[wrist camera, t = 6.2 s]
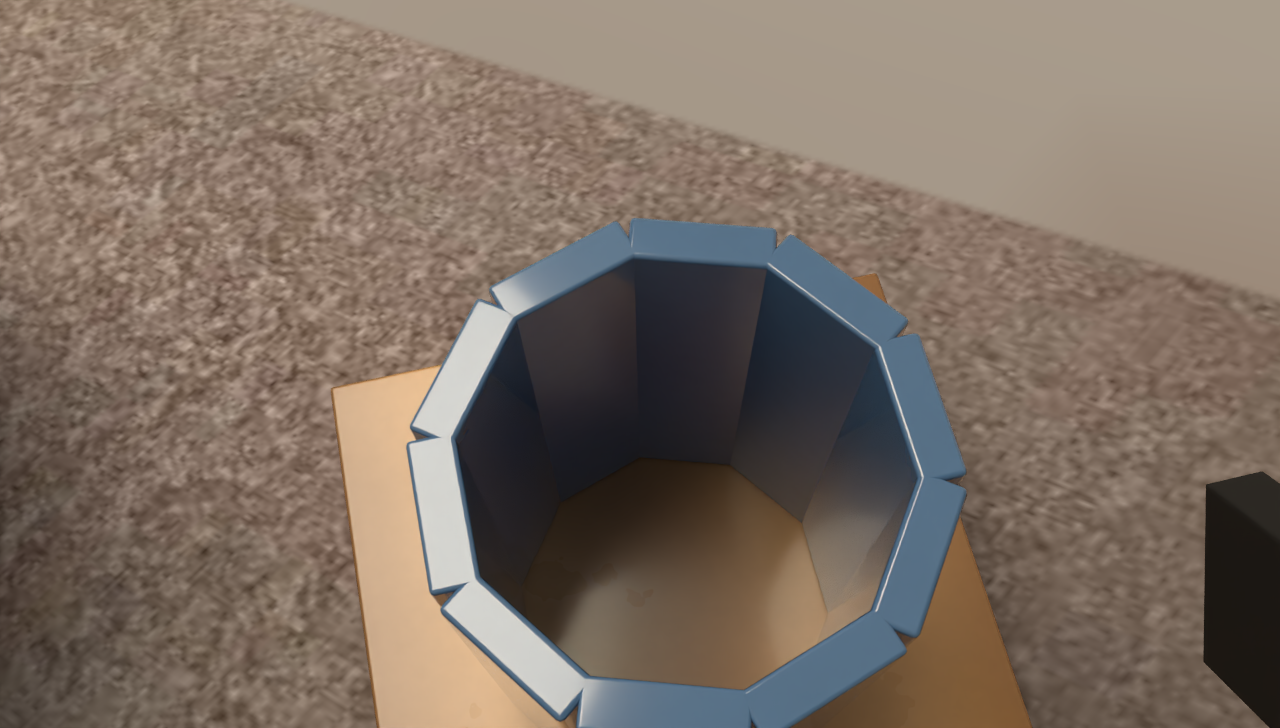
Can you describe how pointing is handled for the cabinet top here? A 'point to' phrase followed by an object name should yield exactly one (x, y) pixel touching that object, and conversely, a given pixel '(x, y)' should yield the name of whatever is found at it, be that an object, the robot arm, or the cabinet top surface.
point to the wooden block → (642, 589)
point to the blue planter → (687, 453)
